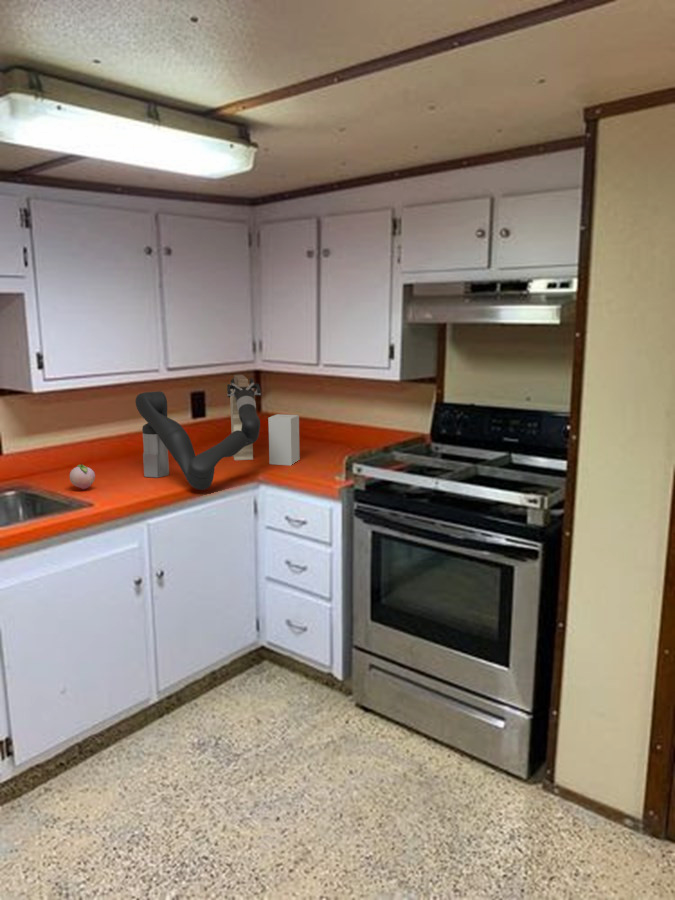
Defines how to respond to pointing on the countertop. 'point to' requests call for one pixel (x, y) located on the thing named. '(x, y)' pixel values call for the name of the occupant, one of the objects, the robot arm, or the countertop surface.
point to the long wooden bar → (241, 380)
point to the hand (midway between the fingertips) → (241, 379)
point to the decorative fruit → (82, 476)
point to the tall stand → (236, 424)
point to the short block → (283, 439)
